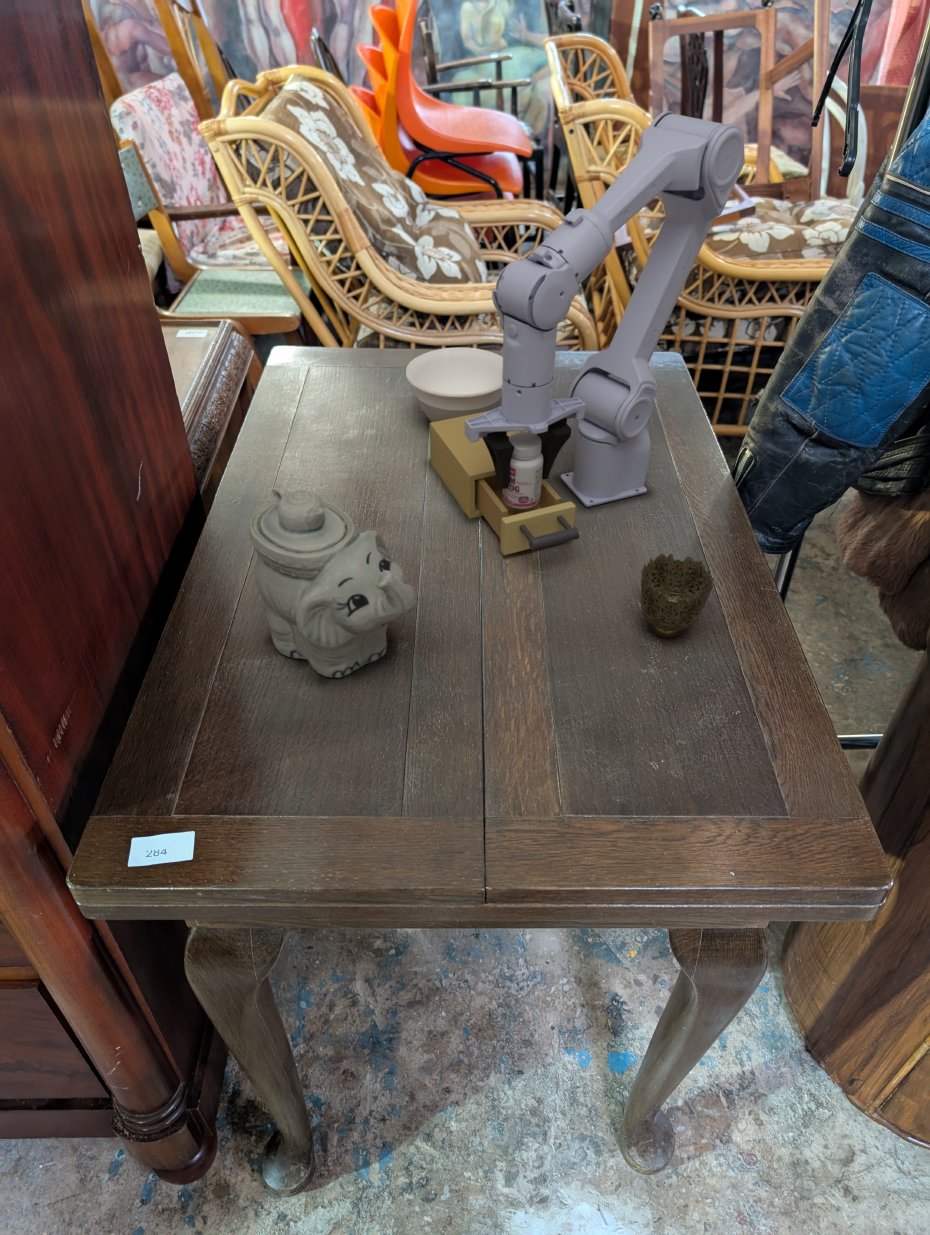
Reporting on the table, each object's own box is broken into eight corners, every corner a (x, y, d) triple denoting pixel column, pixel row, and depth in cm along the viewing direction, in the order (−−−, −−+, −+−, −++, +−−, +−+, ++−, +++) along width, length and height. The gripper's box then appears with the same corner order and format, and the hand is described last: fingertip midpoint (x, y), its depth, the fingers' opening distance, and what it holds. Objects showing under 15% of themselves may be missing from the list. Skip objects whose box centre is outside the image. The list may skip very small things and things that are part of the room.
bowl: (419, 454, 116) (416, 400, 110) (400, 403, 127) (396, 352, 121) (523, 441, 119) (526, 388, 113) (495, 392, 130) (497, 342, 124)
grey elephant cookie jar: (423, 693, 82) (415, 548, 69) (275, 719, 79) (238, 573, 66) (397, 591, 93) (386, 451, 81) (267, 610, 91) (234, 469, 78)
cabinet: (542, 501, 107) (545, 459, 102) (469, 519, 104) (469, 476, 100) (498, 449, 117) (499, 408, 112) (431, 463, 114) (429, 422, 110)
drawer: (589, 557, 97) (593, 525, 93) (518, 576, 94) (520, 543, 91) (526, 482, 109) (528, 452, 105) (463, 497, 106) (462, 466, 103)
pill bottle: (496, 505, 99) (498, 445, 93) (509, 485, 102) (512, 427, 96) (533, 513, 97) (537, 453, 92) (545, 493, 101) (549, 434, 95)
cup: (703, 615, 90) (718, 560, 85) (695, 659, 85) (710, 604, 80) (637, 601, 92) (648, 546, 87) (625, 643, 87) (636, 588, 81)
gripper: (481, 403, 84) (480, 510, 93) (602, 379, 88) (590, 484, 97) (457, 375, 89) (458, 479, 98) (572, 354, 93) (563, 455, 102)
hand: (522, 479), depth 98 cm, fingers closed on pill bottle, 5 cm apart
